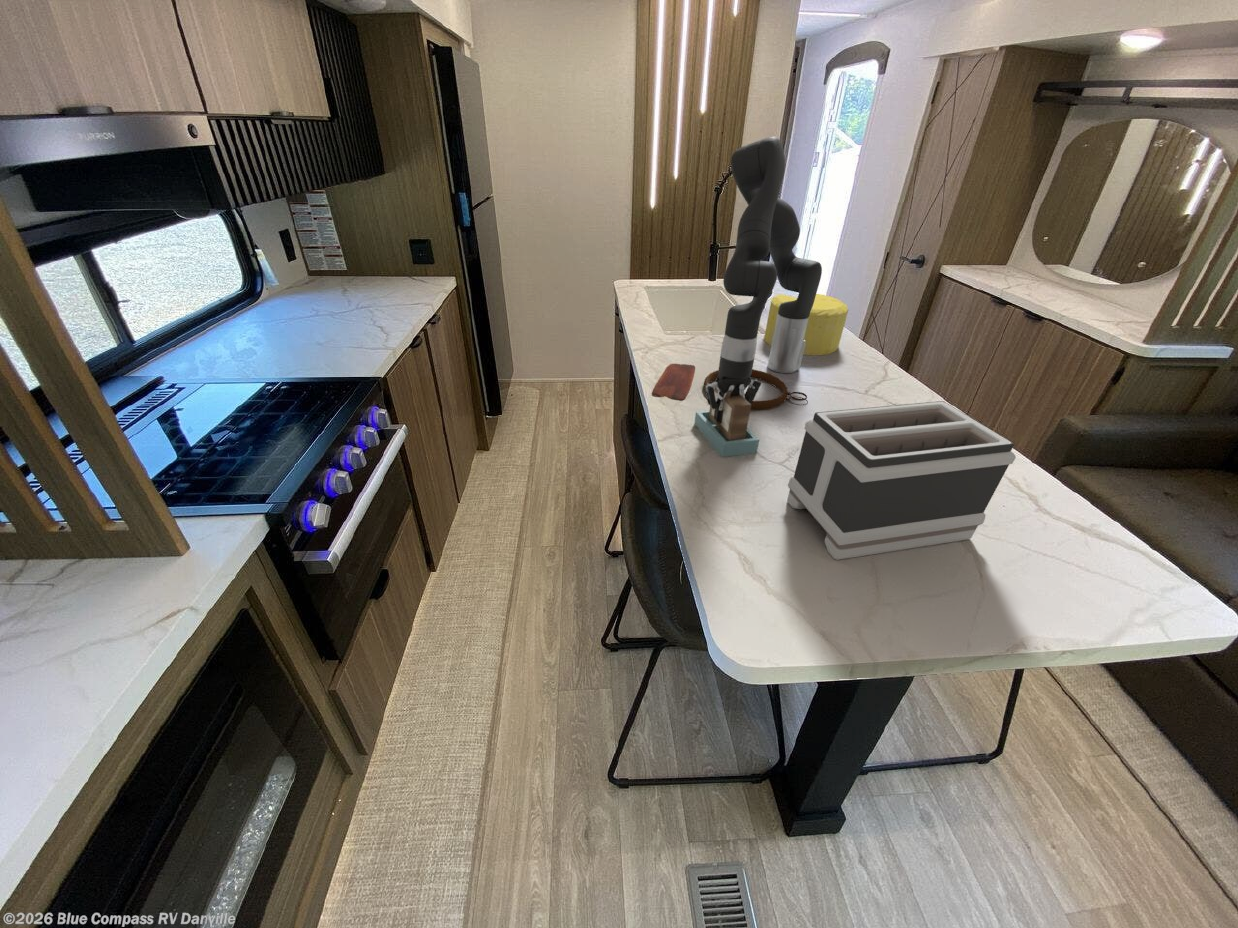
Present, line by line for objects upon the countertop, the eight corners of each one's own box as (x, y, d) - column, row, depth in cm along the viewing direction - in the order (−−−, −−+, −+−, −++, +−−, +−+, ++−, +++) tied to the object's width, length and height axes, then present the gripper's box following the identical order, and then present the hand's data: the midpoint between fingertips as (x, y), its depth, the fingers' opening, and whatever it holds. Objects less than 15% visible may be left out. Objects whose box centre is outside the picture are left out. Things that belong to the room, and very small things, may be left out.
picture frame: (708, 417, 130) (712, 384, 125) (723, 415, 131) (728, 383, 126) (729, 440, 120) (735, 406, 115) (745, 438, 121) (751, 404, 116)
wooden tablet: (684, 403, 144) (685, 398, 143) (650, 398, 146) (650, 392, 145) (699, 368, 166) (699, 363, 165) (668, 363, 168) (669, 358, 167)
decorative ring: (807, 413, 134) (695, 392, 143) (804, 423, 136) (694, 402, 144) (812, 378, 153) (713, 362, 162) (810, 387, 155) (712, 370, 163)
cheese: (771, 326, 201) (778, 287, 193) (841, 337, 193) (852, 296, 184) (757, 347, 181) (764, 304, 173) (834, 360, 173) (846, 316, 164)
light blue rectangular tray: (694, 423, 133) (695, 411, 131) (726, 419, 135) (728, 408, 133) (722, 457, 120) (724, 444, 118) (756, 452, 122) (759, 439, 120)
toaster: (992, 538, 98) (1045, 444, 87) (832, 563, 91) (867, 464, 80) (924, 483, 113) (961, 396, 101) (782, 501, 106) (806, 410, 95)
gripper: (757, 345, 120) (746, 411, 130) (701, 350, 117) (693, 417, 126) (774, 357, 114) (760, 425, 124) (715, 362, 111) (706, 431, 120)
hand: (727, 420), depth 125 cm, fingers closed on picture frame, 4 cm apart
